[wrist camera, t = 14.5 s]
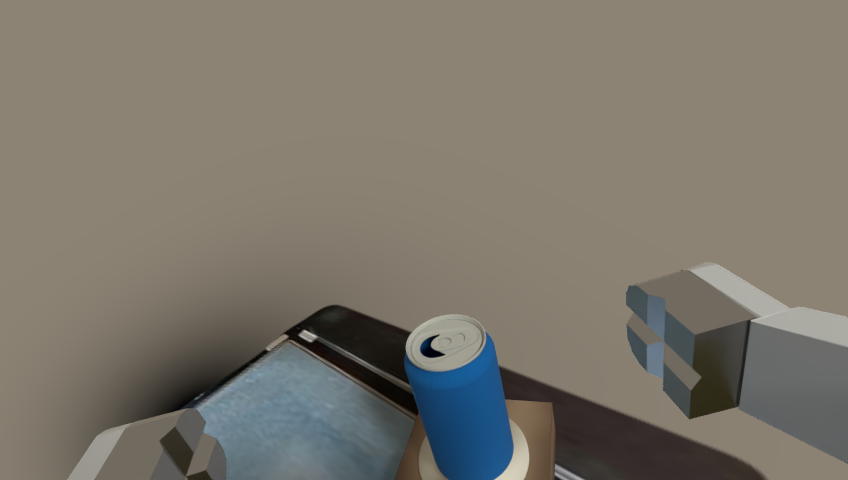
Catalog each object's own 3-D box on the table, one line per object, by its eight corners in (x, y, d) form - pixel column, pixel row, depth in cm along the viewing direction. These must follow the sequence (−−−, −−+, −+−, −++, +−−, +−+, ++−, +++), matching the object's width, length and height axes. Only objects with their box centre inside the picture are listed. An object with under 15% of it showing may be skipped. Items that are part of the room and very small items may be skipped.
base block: (394, 548, 34) (379, 515, 32) (433, 422, 44) (424, 391, 42) (551, 582, 30) (545, 546, 28) (555, 433, 40) (551, 399, 38)
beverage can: (430, 431, 38) (396, 324, 32) (500, 411, 38) (478, 301, 33) (443, 503, 32) (404, 386, 27) (527, 478, 32) (504, 357, 27)
